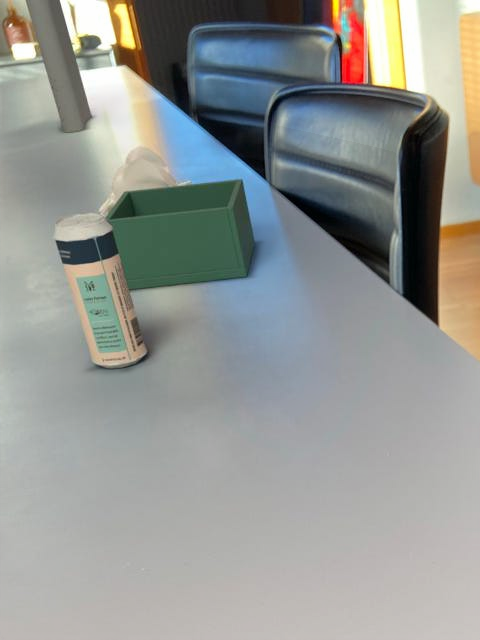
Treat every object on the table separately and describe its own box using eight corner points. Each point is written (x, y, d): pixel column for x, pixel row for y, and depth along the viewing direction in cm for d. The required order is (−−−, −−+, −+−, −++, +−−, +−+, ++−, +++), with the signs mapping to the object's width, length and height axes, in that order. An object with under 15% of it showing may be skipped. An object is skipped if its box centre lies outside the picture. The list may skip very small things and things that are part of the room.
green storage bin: (121, 290, 107) (102, 221, 103) (141, 255, 118) (124, 191, 114) (247, 276, 108) (232, 207, 104) (255, 243, 118) (242, 178, 114)
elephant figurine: (105, 227, 130) (84, 152, 125) (200, 214, 132) (183, 139, 126) (100, 246, 122) (78, 167, 117) (201, 232, 124) (183, 153, 119)
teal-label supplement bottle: (135, 346, 93) (95, 208, 86) (157, 359, 90) (118, 217, 83) (85, 362, 91) (40, 221, 83) (106, 375, 87) (61, 230, 80)
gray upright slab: (69, 118, 205) (27, -29, 190) (92, 115, 206) (52, -32, 191) (58, 133, 191) (12, -25, 176) (83, 130, 192) (39, -27, 177)
